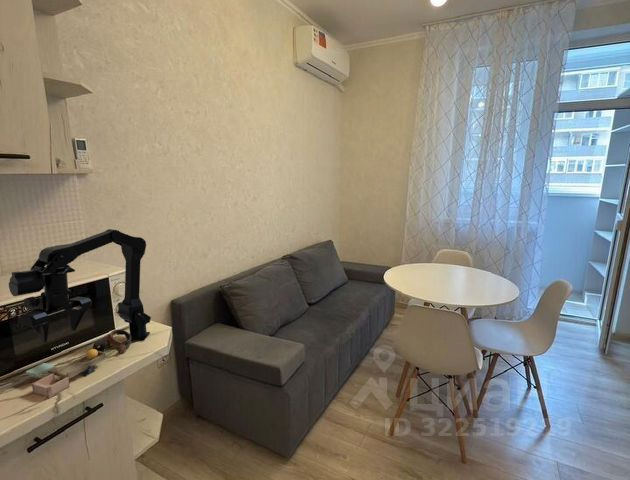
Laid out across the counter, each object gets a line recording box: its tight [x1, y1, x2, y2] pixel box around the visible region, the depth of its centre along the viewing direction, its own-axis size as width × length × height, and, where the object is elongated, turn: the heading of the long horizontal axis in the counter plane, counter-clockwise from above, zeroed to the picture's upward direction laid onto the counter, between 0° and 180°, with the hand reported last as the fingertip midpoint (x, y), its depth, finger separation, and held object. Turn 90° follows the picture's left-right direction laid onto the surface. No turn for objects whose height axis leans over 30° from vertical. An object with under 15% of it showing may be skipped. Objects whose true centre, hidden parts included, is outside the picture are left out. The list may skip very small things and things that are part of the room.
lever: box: [25, 351, 107, 380], centre depth 101 cm, size 15×14×2 cm
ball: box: [86, 348, 98, 359], centre depth 104 cm, size 3×3×3 cm
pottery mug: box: [92, 329, 132, 355], centre depth 114 cm, size 12×10×8 cm
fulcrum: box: [78, 367, 96, 377], centre depth 102 cm, size 3×5×2 cm, turn 72°
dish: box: [31, 374, 71, 399], centre depth 92 cm, size 6×6×3 cm
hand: (59, 336), depth 101 cm, fingers open, 9 cm apart
